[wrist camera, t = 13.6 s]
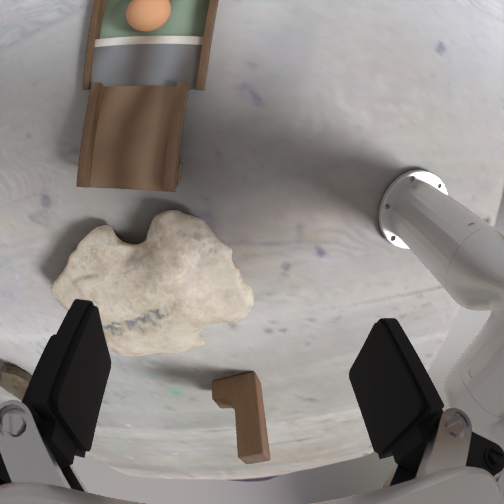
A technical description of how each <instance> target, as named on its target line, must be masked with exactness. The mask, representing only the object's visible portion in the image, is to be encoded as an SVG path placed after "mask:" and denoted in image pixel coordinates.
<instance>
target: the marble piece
mask: <svg viewBox="0 0 504 504" xmlns="http://www.w3.org/2000/svg"><path fill="white" fill-rule="evenodd" d="M31 378H32V376H31V375H30V374H29V373H27V372H26V371H23V370H22V369H20V368H18V367H16V366H11V365H9V364H7V363H5V364H4V366H3V369H2V371H1V374H0V386H1V387H3V388H4V389H5V390H7V391H8V392H9V393H12V394H13V395H14V396H16V397H17V398H19V399H20V400H21V401H22V400H23V397H24V395H25V392H26V390H27V387H28V385H29V382H30V380H31Z"/></svg>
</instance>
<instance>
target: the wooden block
mask: <svg viewBox="0 0 504 504" xmlns="http://www.w3.org/2000/svg"><path fill="white" fill-rule="evenodd" d="M212 398H213V400H214V401H215V402H216V403H217V405H218V406H219V407H220V408H234V409H235V416H236V433H237V448H238V457H239V458H240V459H241V460H242V461H243V462H245V463H246V464H252V463H258V462H263V461H269V460H270V451H269V444H268V436H267V428H266V420H265V412H264V405H263V397H262V389H261V382H260V381H259V379H258V377H257V375H256V374H255V372H249V373H245V374H241V375H237V376H233V377H228V378H224V379H219V380H215V381H213V382H212Z"/></svg>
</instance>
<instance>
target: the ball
mask: <svg viewBox="0 0 504 504" xmlns="http://www.w3.org/2000/svg"><path fill="white" fill-rule="evenodd" d="M170 14H171V5H170V2H169V0H132V1H131V2H130V3H129V5H128V7H127V10H126V19H127V22H128V23H129V25H130V26H131V27H132V28H134V29H136V30H138V31H143V32H148V31H153V30H156V29H158V28H160V27H161V26H162V25H164V24H165V23H166V21H167V20H168V18H169V16H170Z"/></svg>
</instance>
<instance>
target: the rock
mask: <svg viewBox="0 0 504 504" xmlns="http://www.w3.org/2000/svg"><path fill="white" fill-rule="evenodd" d="M51 292H52V294H53V295H54V296H55V297H56V298H57V299H58V300H59V301H60V303H61V304H62V305H63V306H65V307H66V308H67V309H68V310H69V309H70V307H71V305H72V303H73V301H74V300H75V299H82V300H89V301H92V302H93V304H94V306H97V307H98V309H99V313H100V318H101V322H102V327H103V331H104V335H105V339H106V343H107V347H109V348H110V349H111V350H112V351H114V352H115V353H117V354H118V355H120V356H144V355H149V354H155V353H172V354H177V353H181V352H185V351H187V350H189V349H191V348H194V347H201V346H204V345H205V342H206V341H205V339H204V338H203V337H202V336H201V332H202V330H203V329H204V328H205V327H206V326H208V325H210V324H213V323H216V322H220V321H224V322H229V323H235V322H237V321H240V320H243V319H244V318H245V317H246V315H247V314H248V313H249V312H250V310H251V308H252V306H253V303H254V298H253V292H252V289H251V288H250V287H249V286H248V285H247V284H246V283H245V281H244V280H243V278H242V276H241V273H240V270H239V269H238V268H237V267H236V266H235V265H234V264H233V262H232V248H231V247H230V246H229V245H228V244H226V243H224V242H223V241H222V240H221V239H220V238H219V237H218V236H217V235H216V234H215V233H214V232H213V231H212V230H211V229H210V228H209V227H208V226H207V224H206V223H205V221H204V220H203V219H201V218H196V217H194V216H192V215H187V214H184V213H182V212H181V211H177V210H168V211H164V212H161V213H159V214H157V215H156V216H155V217H154V218H153V220H152V222H151V225H150V228H149V230H148V233H147V238H146V240H145V241H144V242H142V243H140V244H128V243H125V242H123V241H121V240H120V239H119V238H118V237H117V236H116V234H115V232H114V230H113V228H112V227H111V226H109V225H102V226H98V227H96V228H95V229H93V230H92V231H91V232H90V233H89V234H87V235H86V236H85V237H84V238H83V239H82V240H81V241H80V242H79V244H78V246H77V248H76V250H75V251H74V252H72V253H71V254H70V256H69V259H68V262H67V265H66V267H65V269H64V271H63V272H62V273H61V274H60V275H59V277H58V279H57V280H56V281H55V282H54V283H53V285H52V287H51Z"/></svg>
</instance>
